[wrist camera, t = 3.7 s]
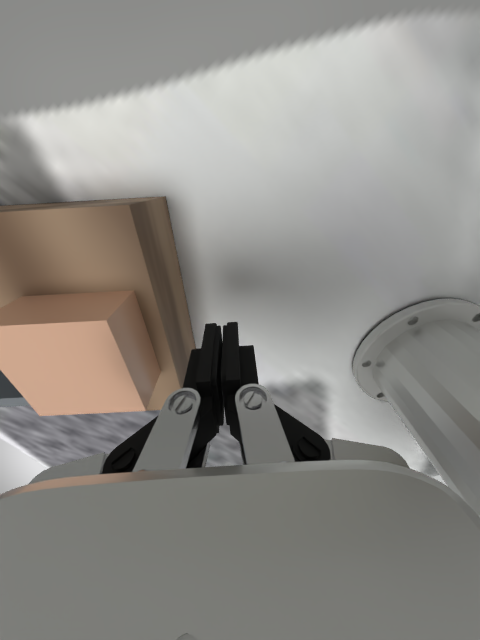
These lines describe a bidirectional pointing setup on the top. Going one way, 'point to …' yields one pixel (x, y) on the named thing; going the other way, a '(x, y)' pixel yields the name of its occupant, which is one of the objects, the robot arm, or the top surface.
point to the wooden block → (103, 267)
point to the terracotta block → (78, 352)
